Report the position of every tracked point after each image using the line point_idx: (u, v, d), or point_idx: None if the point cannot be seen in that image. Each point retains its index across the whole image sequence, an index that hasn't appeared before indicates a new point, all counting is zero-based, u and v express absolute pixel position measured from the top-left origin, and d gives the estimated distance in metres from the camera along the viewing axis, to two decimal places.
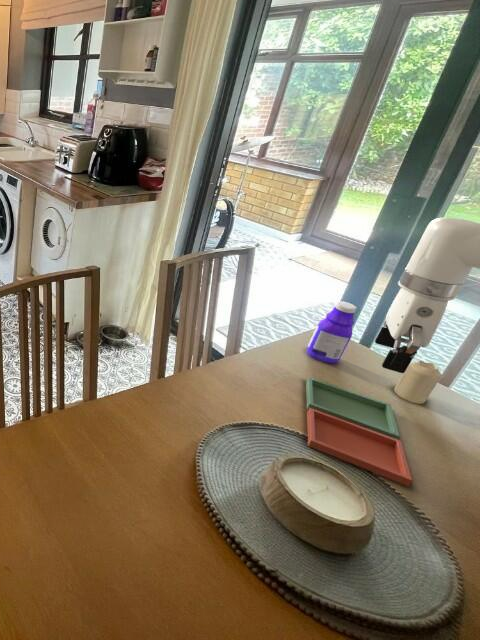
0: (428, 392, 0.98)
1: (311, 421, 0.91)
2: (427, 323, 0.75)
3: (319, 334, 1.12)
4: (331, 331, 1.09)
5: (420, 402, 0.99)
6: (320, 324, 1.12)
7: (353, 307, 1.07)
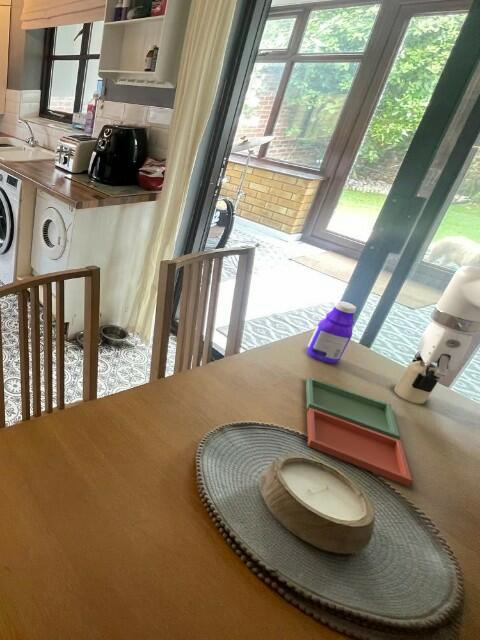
0: (428, 392, 0.98)
1: (311, 421, 0.91)
2: (455, 353, 0.90)
3: (319, 334, 1.12)
4: (331, 331, 1.09)
5: (420, 402, 0.99)
6: (320, 324, 1.12)
7: (353, 307, 1.07)
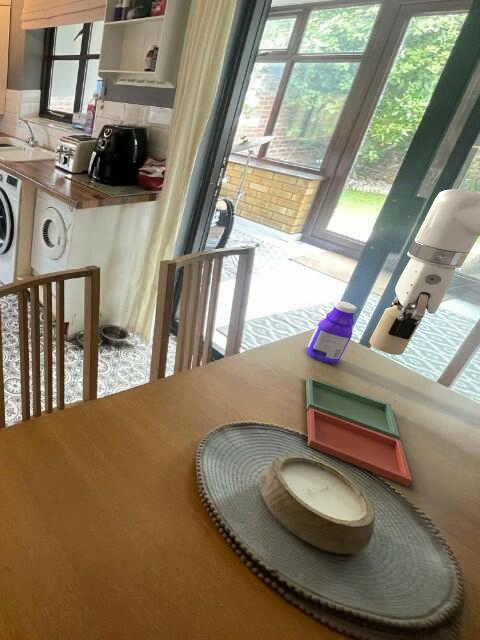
0: (406, 340, 0.86)
1: (311, 421, 0.91)
2: (435, 290, 0.79)
3: (319, 334, 1.12)
4: (331, 331, 1.09)
5: (397, 352, 0.87)
6: (320, 324, 1.12)
7: (353, 307, 1.07)
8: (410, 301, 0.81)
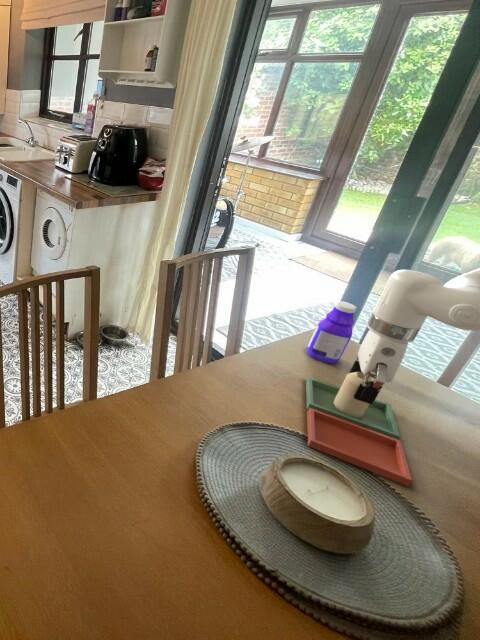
0: (365, 405, 0.93)
1: (311, 421, 0.91)
2: (390, 362, 0.85)
3: (319, 334, 1.12)
4: (331, 331, 1.09)
5: (357, 415, 0.94)
6: (320, 324, 1.12)
7: (353, 307, 1.07)
8: (369, 370, 0.88)
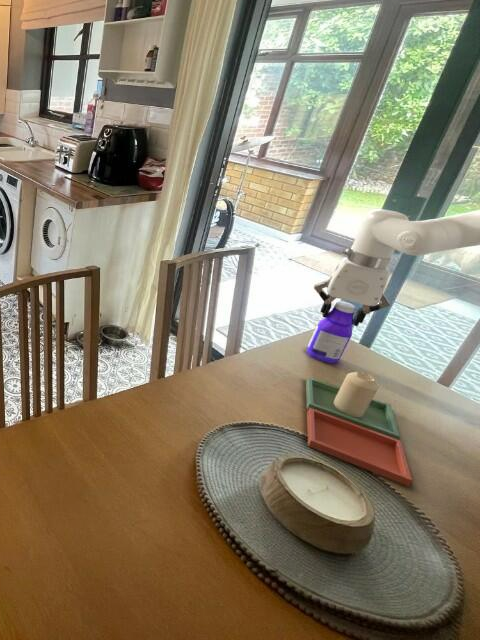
0: (365, 405, 0.93)
1: (311, 421, 0.91)
2: (333, 275, 1.07)
3: (319, 334, 1.12)
4: (331, 331, 1.09)
5: (357, 415, 0.94)
6: (320, 324, 1.12)
7: (353, 307, 1.07)
8: None
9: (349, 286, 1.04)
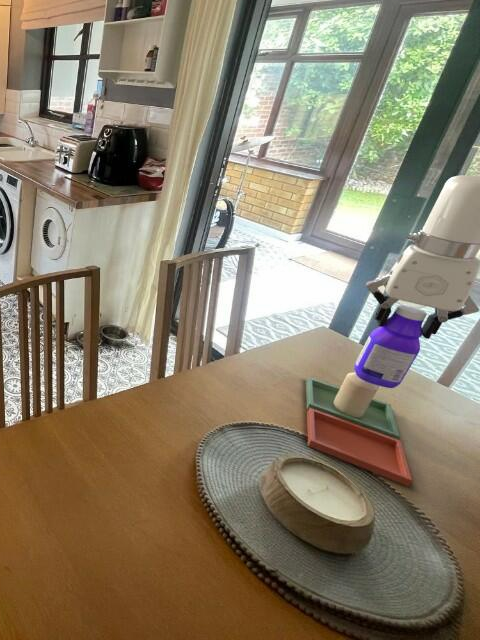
0: (365, 405, 0.93)
1: (311, 421, 0.91)
2: (395, 268, 0.78)
3: (373, 349, 0.83)
4: (391, 345, 0.81)
5: (357, 415, 0.94)
6: (374, 335, 0.83)
7: (422, 312, 0.78)
8: None
9: (419, 284, 0.75)
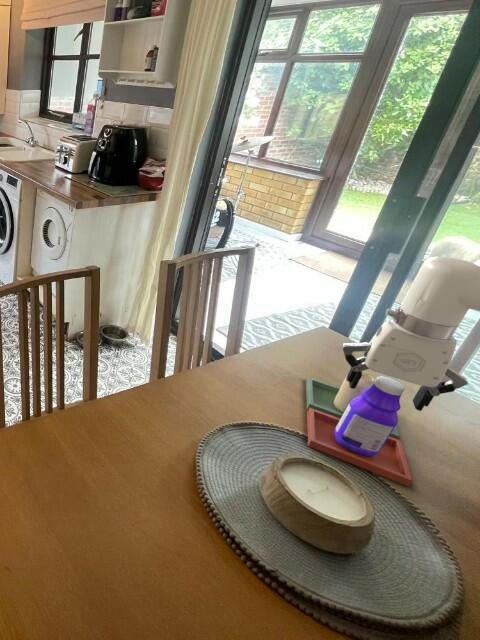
0: None
1: (311, 421, 0.91)
2: (374, 341, 0.79)
3: (352, 419, 0.84)
4: (369, 417, 0.82)
5: None
6: (353, 405, 0.84)
7: (400, 387, 0.79)
8: None
9: (397, 359, 0.76)
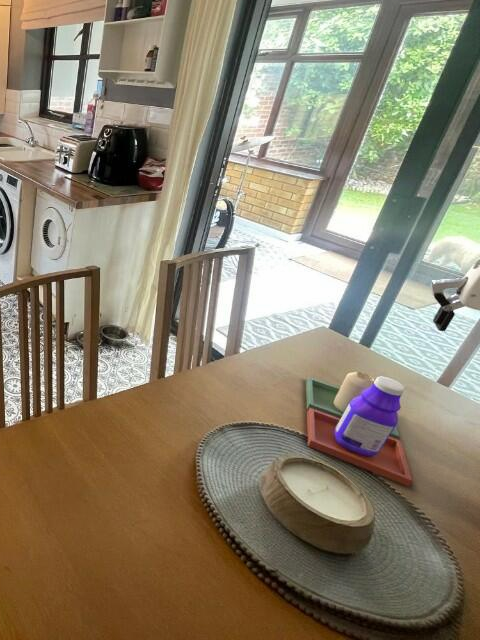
0: None
1: (311, 421, 0.91)
2: (471, 275, 0.71)
3: (353, 419, 0.84)
4: (369, 417, 0.82)
5: None
6: (353, 405, 0.84)
7: (400, 387, 0.79)
8: None
9: None
